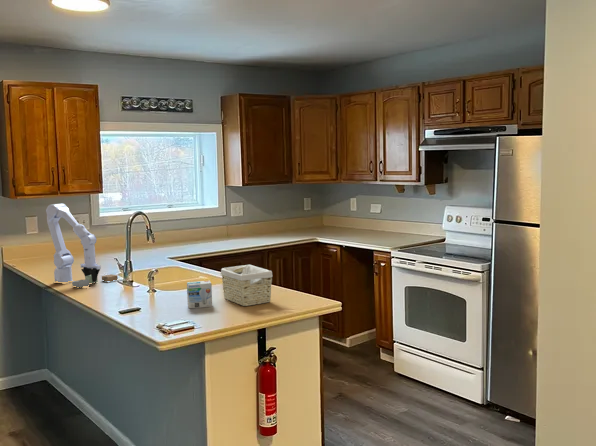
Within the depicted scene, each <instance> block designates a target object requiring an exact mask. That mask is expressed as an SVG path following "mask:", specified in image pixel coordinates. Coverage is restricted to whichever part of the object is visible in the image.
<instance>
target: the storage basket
mask: <svg viewBox="0 0 596 446" xmlns="http://www.w3.org/2000/svg"><path fill="white" fill-rule="evenodd" d="M220 275H221V278H222V279H221V280H222V284H221V285H222V290H223V298H224V299H226V300H227V301H230V302H232V303H235V304H237V305H240V306H243V307H248V306H255V305H261V304H266V303H270V302H271V300H272V299H271V296H272V282H273V271H272V270H269V269H266V268H263V267H259V266H255V265H252V264H245V265H236V266H228V267H222V268H221V269H220Z"/></svg>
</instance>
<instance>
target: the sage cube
mask: <svg viewBox="0 0 596 446" xmlns="http://www.w3.org/2000/svg"><path fill="white" fill-rule="evenodd" d="M84 280H89V283H94V282H92V276H91V275H89V276H85V275H84ZM96 282H98V278H97V281H96ZM98 283H99V282H98Z"/></svg>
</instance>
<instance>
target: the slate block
mask: <svg viewBox="0 0 596 446" xmlns="http://www.w3.org/2000/svg"><path fill="white" fill-rule="evenodd" d="M72 281H73V282H72V283H71V285H72V287H73V286H76V287H83V286H88V285H89V286H90V284H89V280H85V279H79V280H72Z"/></svg>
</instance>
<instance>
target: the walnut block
mask: <svg viewBox="0 0 596 446" xmlns="http://www.w3.org/2000/svg"><path fill="white" fill-rule="evenodd" d="M117 279H118V275H117V274H106V275H105V274H104V275H101V281H102V280H104V281H113V280H117ZM118 280H119V279H118Z"/></svg>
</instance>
